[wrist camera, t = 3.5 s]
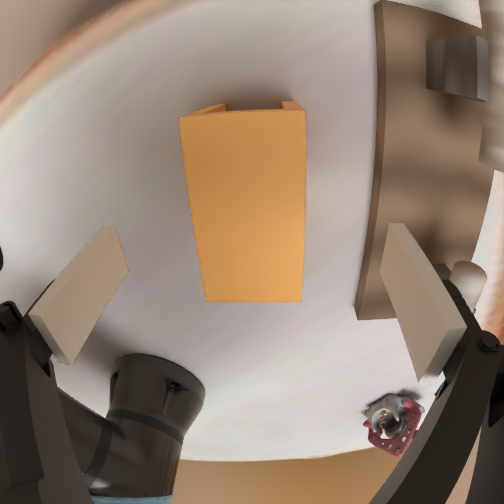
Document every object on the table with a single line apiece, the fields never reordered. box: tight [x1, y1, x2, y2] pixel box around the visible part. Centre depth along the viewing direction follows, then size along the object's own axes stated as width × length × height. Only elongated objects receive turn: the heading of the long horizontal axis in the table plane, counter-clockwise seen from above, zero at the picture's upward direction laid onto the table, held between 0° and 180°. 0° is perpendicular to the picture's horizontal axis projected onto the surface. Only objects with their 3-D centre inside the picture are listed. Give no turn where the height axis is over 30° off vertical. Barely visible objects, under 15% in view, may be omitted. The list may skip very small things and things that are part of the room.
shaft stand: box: [354, 0, 504, 320], centre depth 19 cm, size 30×12×10 cm, turn 3°
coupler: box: [179, 101, 306, 302], centre depth 21 cm, size 12×6×9 cm, turn 3°
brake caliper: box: [363, 394, 425, 457], centre depth 40 cm, size 11×10×11 cm
